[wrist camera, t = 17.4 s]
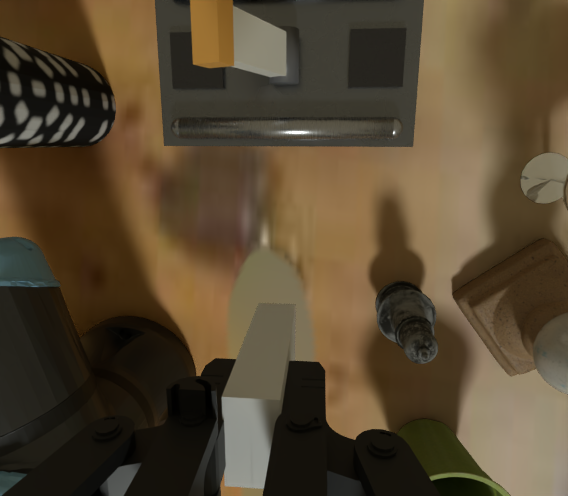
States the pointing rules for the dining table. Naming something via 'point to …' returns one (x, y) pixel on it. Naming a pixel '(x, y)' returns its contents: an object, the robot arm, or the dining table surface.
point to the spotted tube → (50, 100)
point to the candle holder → (523, 312)
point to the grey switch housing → (312, 78)
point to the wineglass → (546, 178)
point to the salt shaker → (408, 320)
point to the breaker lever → (243, 42)
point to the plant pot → (447, 460)
